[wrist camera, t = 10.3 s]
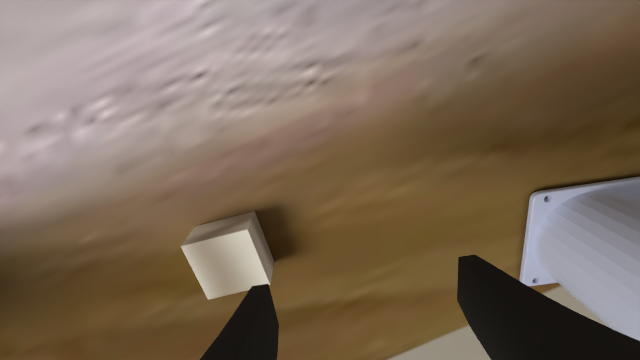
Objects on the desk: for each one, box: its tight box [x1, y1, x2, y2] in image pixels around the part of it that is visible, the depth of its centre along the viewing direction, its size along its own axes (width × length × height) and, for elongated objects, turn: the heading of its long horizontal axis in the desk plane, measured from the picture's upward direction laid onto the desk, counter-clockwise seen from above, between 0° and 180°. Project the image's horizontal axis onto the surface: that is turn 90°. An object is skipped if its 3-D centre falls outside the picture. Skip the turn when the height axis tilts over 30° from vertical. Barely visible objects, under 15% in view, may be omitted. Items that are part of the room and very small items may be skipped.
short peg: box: [181, 211, 274, 300], centre depth 20 cm, size 4×4×2 cm
